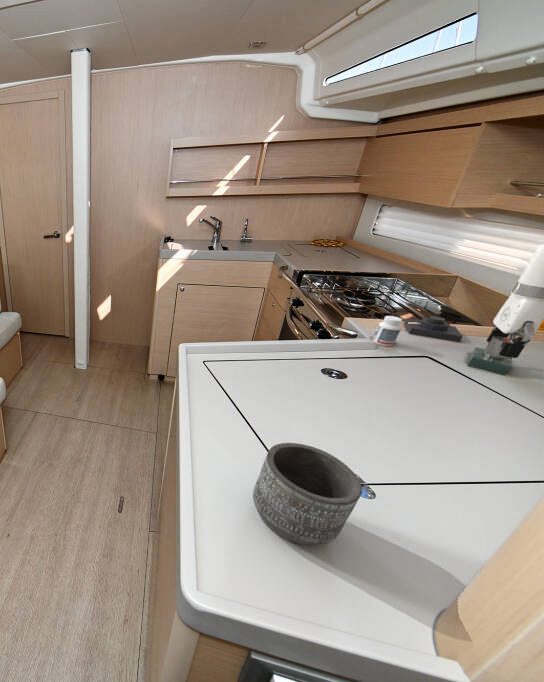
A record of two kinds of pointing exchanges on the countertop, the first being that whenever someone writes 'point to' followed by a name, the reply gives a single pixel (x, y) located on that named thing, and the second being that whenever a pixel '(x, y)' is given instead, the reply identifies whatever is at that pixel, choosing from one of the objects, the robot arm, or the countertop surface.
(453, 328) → the housing
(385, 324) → the pill bottle
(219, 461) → the countertop surface
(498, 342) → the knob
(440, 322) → the button
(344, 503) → the planter
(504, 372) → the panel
